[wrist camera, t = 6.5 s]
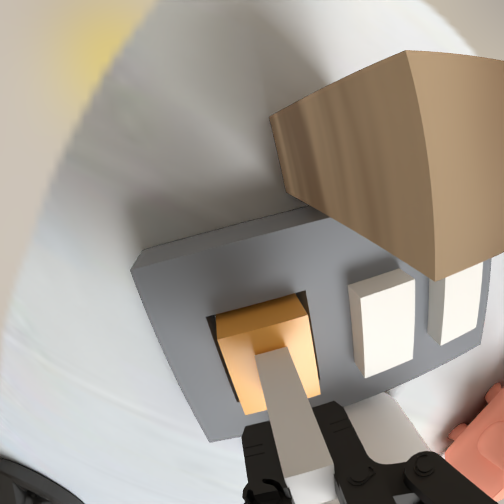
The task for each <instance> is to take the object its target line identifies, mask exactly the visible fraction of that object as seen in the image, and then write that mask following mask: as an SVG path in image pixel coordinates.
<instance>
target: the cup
mask: <svg viewBox="0 0 504 504" xmlns="http://www.w3.org/2000/svg"><path fill="white" fill-rule="evenodd" d="M344 409H345V411H346V413H347V415H348V417H349V419H350V421H351V423H352V425H353V427H354V429H355V431H356V433H357V435H358V437H359V439H360V441H361V443H362V445H363V447H364V449H365V451H366V453H367V455H368V456H369V457H370V458H371V459H372V460H373V461H375V462H377V463H380V464H395V463H402V462H407V461H408V460H409V459H410V457H411V456H413V455H415V454H416V453H418V452H423V451H431V450H430V449H429V447H428V446H427V444H426V443H425V442H424V440H423V439H422V437H421V436H420V434H419V433H418V431H417V430H416V428H415V427H414V425H413V424H412V422H411V421H410V420H409V418H408V417H407V415H406V414H405V412H404V411H403V409H402V408H401V407H400V405H399V404H398V402H397V401H396V400H395V399H394V398H393V397H391V396H390V395H388V394H387V393H384V392H382V393H380V394H377V395H375V396H372V397H370V398H367V399H365V400H362V401H359V402H357V403H354V404H351V405H348V406H346V407H344ZM320 504H340V503H339V500H338V498H336V499H333V500H330V501H327V502H324V503H320Z"/></svg>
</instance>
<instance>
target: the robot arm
mask: <svg viewBox="0 0 504 504" xmlns="http://www.w3.org/2000/svg"><path fill="white" fill-rule="evenodd" d="M254 356H255V360H256V364H257V368H258V373H259V377H260V381H261V386H262V390H263V394H264V398H265V402H266V407H267V411H268V415H269V419H270V420H269V421H265V422H261V423H257V424H252V425H248V426H245V428H244V431H243V434H242V437H241V438H242V445H243V452H244V457H245V465H246V471H247V478H248V483H247V485H246V486H245V488H244V490H243V496H242V497H243V499H244V500H245V503H244V504H320V503H324V502H327V501H330V500H333V499H336V498H338V500H339V503H340V504H498V503H497V502H496V501H494V500H493V499H492V498H491V497H489V496H488V495H487V494H486V493H485V492H483V491H482V490H481V489H480V488H478V487H477V486H476V485H475V484H473V483H472V482H471V481H470V480H469V479H467V478H466V477H465V476H464V475H463V474H461V473H460V472H459V471H458V470H457V469H455V468H454V467H453V466H452V465H451V464H449V463H448V462H447V461H446V460H445V459H443V458H442V457H441V456H440V455H438V454H437V453H435V452H431V451H423V452H418V453H416V454H415V455H413V456H411V457H410V459H409V460H408V461H407V462H402V463H395V464H380V463H377V462H375V461H373V460H372V459H371V458H370V457H369V456H368V455H367V453H366V451H365V449H364V447H363V445H362V443H361V441H360V439H359V437H358V435H357V433H356V431H355V429H354V427H353V425H352V423H351V421H350V419H349V417H348V415H347V413H346V411H345V409H344V407H342V406H341V405H339V404H338V403H337V402H335V401H331V402H328V403H325V404H322V405H319V406H316V407H312V408H311V405H310V403H309V400H308V398H307V395H306V393H305V390H304V388H303V385H302V383H301V380H300V378H299V375H298V372H297V370H296V367H295V365H294V362H293V360H292V357H291V355H290V352H289V350H288V347H283V348H280V349H276V350H273V351H269V352H265V353H261V354H258V355H254ZM0 504H83V503H82V502H81V501H80V500H79V499H77V498H76V497H75V496H74V495H72V494H71V493H69V492H68V491H66V490H65V489H63V488H62V487H60V486H59V485H57V484H55V483H54V482H52V481H50V480H48V479H47V478H45V477H43V476H41V475H39V474H37V473H35V472H33V471H31V470H29V469H27V468H25V467H23V466H21V465H18V464H16V463H13V462H11V461H8V460H5V459H1V458H0Z"/></svg>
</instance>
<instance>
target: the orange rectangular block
mask: <svg viewBox="0 0 504 504" xmlns="http://www.w3.org/2000/svg"><path fill="white" fill-rule="evenodd" d="M216 328H217V340H218V343H219V346H220V349H221V352H222V354H223V357H224V360H225V363H226V366H227V368H228V371H229V374H230V376H231V379H232V382H233V384H234V387H235V390H236V392H237V395H238V398H239V400H240V403H241V405H242V408H243V411H244V413H245V415H248V414H253V413H257V412H261V411H265V410H267V407H266V402H265V398H264V394H263V390H262V386H261V381H260V377H259V373H258V368H257V364H256V360H255V356H254V355H258V354H261V353H265V352H269V351H273V350H276V349H280V348H283V347H288V350H289V352H290V355H291V357H292V360H293V362H294V365H295V367H296V370H297V372H298V375H299V378H300V380H301V383H302V385H303V388H304V390H305V393H306V395H307V398H311V397H314V396H317V395H320V394H321V392H320V386H319V379H318V373H317V366H316V360H315V354H314V348H313V342H312V336H311V330H310V324H309V318H308V314H307V313H306V311H305V309H304V308H303V306H302V304H301V302H300V301H299V299H298V297H297V296H296V294H295V293H293V294H290V295H286V296H283V297H279V298H276V299H272V300H268V301H265V302H261V303H257V304H253V305H250V306H246V307H242V308H238V309H235V310H231V311H227V312H223V313H219V314H216Z"/></svg>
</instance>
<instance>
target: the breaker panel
mask: <svg viewBox="0 0 504 504" xmlns="http://www.w3.org/2000/svg"><path fill="white" fill-rule="evenodd" d="M130 271H131V274H132V277H133V279H134V282H135V285H136V287H137V290H138V293H139V295H140V298H141V300H142V303H143V305H144V308H145V310H146V312H147V315H148V317H149V320H150V322H151V324H152V327H153V329H154V332H155V334H156V336H157V338H158V341H159V343H160V345H161V347H162V350H163V352H164V354H165V356H166V358H167V361H168V363H169V365H170V367H171V369H172V371H173V373H174V375H175V378H176V380H177V382H178V384H179V386H180V388H181V390H182V392H183V394H184V396H185V398H186V400H187V402H188V404H189V406H190V407H191V409H192V411H193V413H194V415H195V417H196V419H197V421H198V423H199V424H200V426H201V428H202V430H203V432H204V434H205V435H206V437H207V439H208V441H209V443H210V442H215V441H221V440H226V439H231V438H236V437H240V436H242V434H243V431H244V428H245V426H248V425H252V424H257V423H261V422H265V421H269V420H270V419H269V415H268V411H267V410H265V411H261V412H257V413H253V414H248V415H245V413H244V411H243V408H242V405H241V403H240V400H239V398H238V395H237V392H236V390H235V387H234V384H233V382H232V379H231V376H230V374H229V371H228V368H227V366H226V363H225V360H224V357H223V354H222V352H221V349H220V346H219V343H218V340H217V328H216V321H215V318H214V315H215V314H219V313H223V312H227V311H231V310H235V309H238V308H242V307H246V306H250V305H253V304H257V303H261V302H265V301H268V300H272V299H276V298H279V297H283V296H286V295H290V294H293V293H296V296H297V297H298V299H299V301H300V302H301V304H302V306H303V308H304V309H305V311H306V313H307V314H308V318H309V324H310V330H311V336H312V342H313V348H314V354H315V360H316V366H317V373H318V379H319V386H320V392H321V394H320V395H317V396H314V397H311V398H308V400H309V403H310V405H311V408H312V407H316V406H319V405H322V404H325V403H328V402H331V401H335V402H337V403H338V404H339V405H341V406H342V407H346V406H348V405H351V404H354V403H357V402H359V401H362V400H365V399H367V398H370V397H372V396H375V395H377V394H380V393H382V392H385V391H387V390H389V389H392V388H394V387H396V386H399V385H401V384H403V383H406V382H408V381H410V380H412V379H414V378H417V377H419V376H421V375H423V374H425V373H427V372H429V371H431V370H433V369H435V368H437V367H439V366H441V365H443V364H445V363H447V362H449V361H451V360H453V359H455V358H457V357H458V356H460V355H462V354H464V353H466V352H467V351H469V350H471V349H473V348H475V347H476V346H478V345H480V343H481V338H482V333H483V327H484V321H485V314H486V307H487V300H488V291H489V282H490V271H491V258H490V259H488V260H486V261H483V262H481V263H479V264H477V265H474V266H472V267H470V268H467V269H465V270H463V271H460V272H458V273H455V274H453V275H451V276H448V277H446V278H443V279H441V280H438V281H436V282H434V281H433V280H431V279H430V278H428V277H427V276H425V275H424V274H422V273H421V272H419V271H418V270H416V269H414V268H413V267H411V266H410V265H408V264H407V263H405V262H404V261H402V260H400V259H399V258H397V257H396V256H394V255H392V254H391V253H389V252H388V251H386V250H384V249H383V248H381V247H380V246H378V245H376V244H375V243H373V242H371V241H370V240H368V239H367V238H365V237H363V236H362V235H360V234H358V233H357V232H355V231H353V230H352V229H350V228H348V227H346V226H345V225H343V224H341V223H340V222H338V221H336V220H334V219H333V218H331V217H329V216H328V215H326V214H324V213H322V212H321V211H319V210H317V209H315V208H314V207H312V206H308V207H304V208H300V209H296V210H292V211H288V212H284V213H280V214H276V215H272V216H268V217H264V218H260V219H256V220H252V221H248V222H244V223H241V224H237V225H233V226H229V227H225V228H222V229H218V230H214V231H210V232H207V233H203V234H199V235H195V236H192V237H188V238H184V239H181V240H177V241H173V242H170V243H166V244H163V245H159V246H156V247H152V248H148V249H145V250H142V252H141V254H140V255H139V257H138V258H137V260H136V262H135V263H134V265H133V266H132V268H131V270H130Z"/></svg>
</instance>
